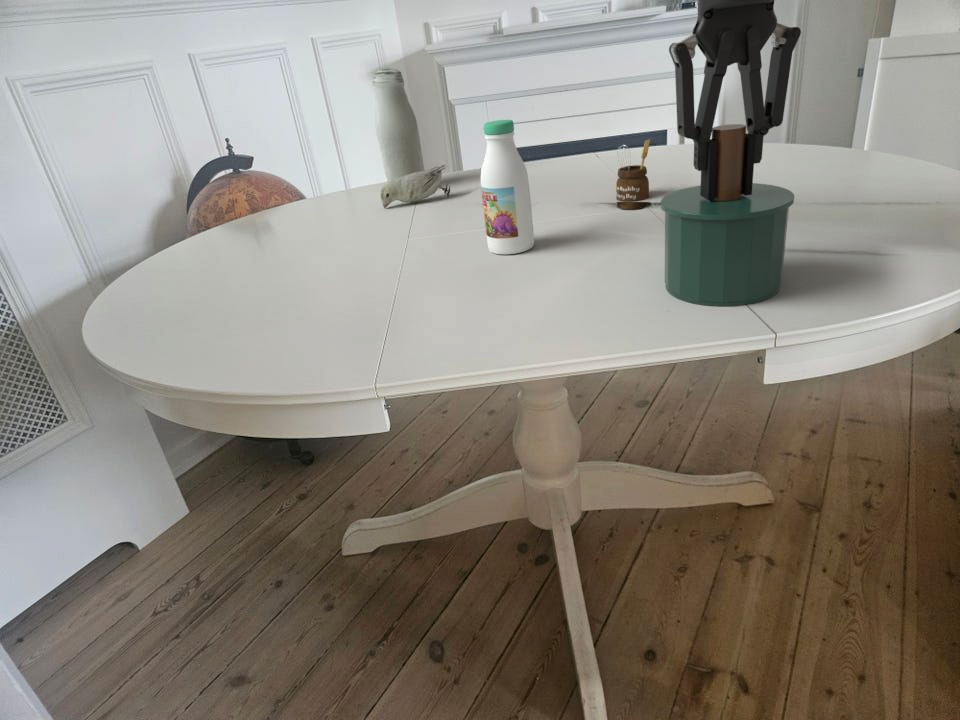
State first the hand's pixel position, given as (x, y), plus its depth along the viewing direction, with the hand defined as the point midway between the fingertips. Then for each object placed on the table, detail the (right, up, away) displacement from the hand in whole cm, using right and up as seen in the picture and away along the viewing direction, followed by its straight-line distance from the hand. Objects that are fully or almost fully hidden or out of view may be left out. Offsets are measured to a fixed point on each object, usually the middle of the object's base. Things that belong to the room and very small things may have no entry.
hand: (725, 194), depth 75 cm
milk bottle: (-24, -1, +30) cm, 38 cm away
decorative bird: (-43, +16, +70) cm, 84 cm away
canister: (+2, -10, +5) cm, 11 cm away
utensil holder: (0, +9, +44) cm, 45 cm away
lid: (0, -1, 0) cm, 1 cm away
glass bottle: (-47, +23, +84) cm, 99 cm away
